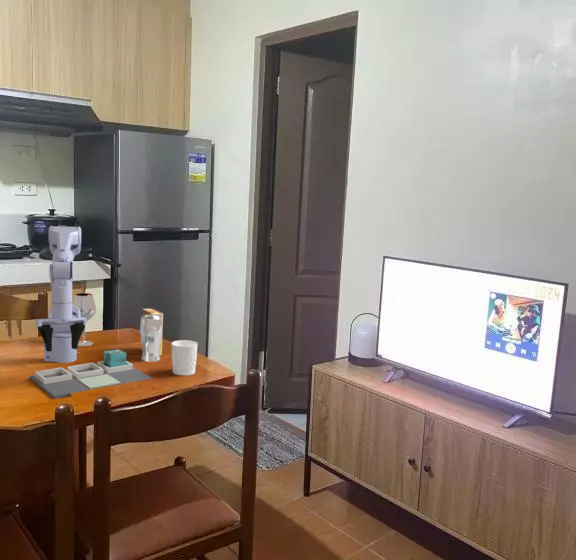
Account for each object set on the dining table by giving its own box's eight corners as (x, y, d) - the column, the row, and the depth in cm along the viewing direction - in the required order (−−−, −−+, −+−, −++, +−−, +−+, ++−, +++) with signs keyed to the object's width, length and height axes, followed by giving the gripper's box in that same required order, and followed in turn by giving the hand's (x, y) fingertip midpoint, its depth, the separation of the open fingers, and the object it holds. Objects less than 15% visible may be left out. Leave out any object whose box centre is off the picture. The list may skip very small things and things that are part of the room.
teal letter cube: (104, 367, 190) (104, 351, 189) (119, 364, 193) (119, 349, 192) (110, 371, 186) (110, 355, 185) (126, 368, 189) (126, 352, 188)
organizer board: (29, 378, 178) (29, 370, 178) (122, 363, 197) (122, 356, 197) (54, 398, 163) (54, 390, 163) (152, 380, 182) (152, 373, 181)
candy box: (140, 352, 211) (141, 308, 209) (152, 350, 214) (153, 307, 211) (151, 358, 204) (151, 313, 202) (163, 356, 207) (163, 312, 204)
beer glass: (156, 365, 197) (156, 320, 194) (136, 363, 198) (136, 318, 196) (164, 359, 204) (165, 315, 201) (145, 357, 205) (145, 314, 203)
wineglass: (68, 343, 218) (67, 293, 215) (89, 339, 223) (89, 291, 221) (77, 348, 212) (77, 297, 209) (99, 344, 217) (100, 295, 215)
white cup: (174, 370, 193) (174, 339, 191) (198, 371, 193) (199, 340, 191) (168, 377, 185) (169, 345, 184) (194, 379, 185) (195, 347, 183)
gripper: (42, 304, 168) (42, 353, 168) (91, 302, 178) (91, 349, 178) (32, 303, 173) (32, 351, 173) (80, 302, 183) (80, 347, 183)
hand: (61, 350), depth 176 cm, fingers open, 7 cm apart
